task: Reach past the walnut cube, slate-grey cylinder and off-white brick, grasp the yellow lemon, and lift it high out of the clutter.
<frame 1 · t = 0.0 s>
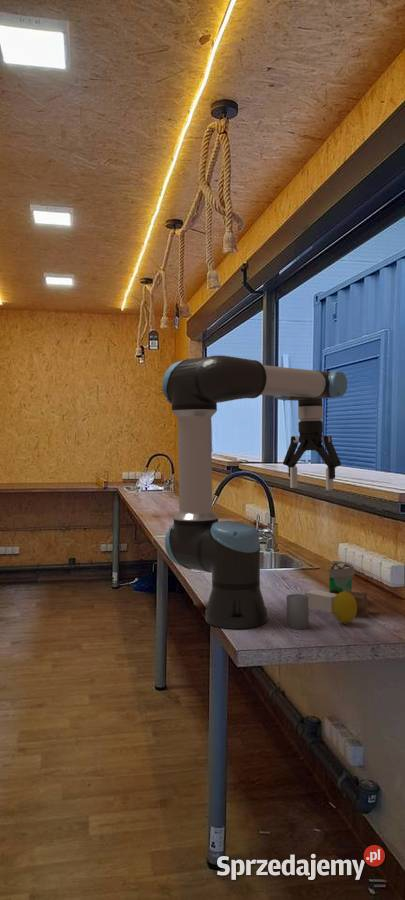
hand: (311, 488, 197), 28 cm above the worktop, fingers open, 13 cm apart
off-white brick: (322, 608, 164), on the worktop
walnut cube: (355, 614, 158), on the worktop
food container: (343, 603, 168), on the worktop
lemon: (345, 625, 149), on the worktop
slate cylinder: (297, 626, 148), on the worktop
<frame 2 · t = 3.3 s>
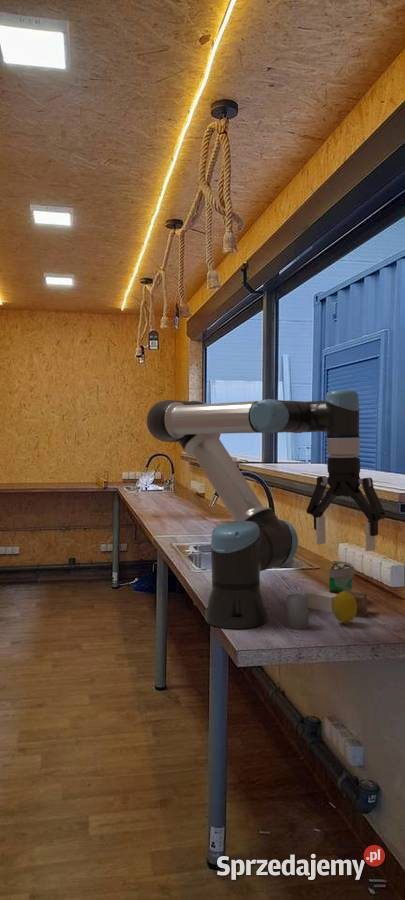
hand: (345, 546, 149), 18 cm above the worktop, fingers open, 13 cm apart
nothing on the worktop moved.
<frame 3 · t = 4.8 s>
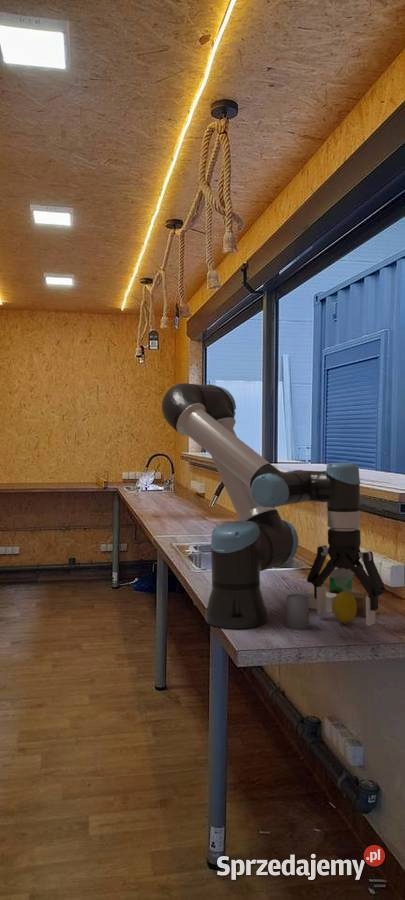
hand: (345, 618, 149), 1 cm above the worktop, fingers open, 13 cm apart
nothing on the worktop moved.
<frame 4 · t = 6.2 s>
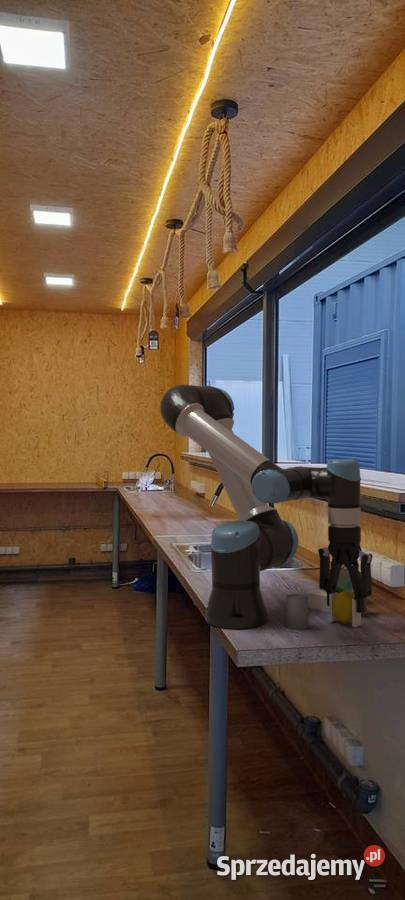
hand: (345, 622, 149), 0 cm above the worktop, fingers closed on lemon, 5 cm apart
lemon: (345, 625, 149), on the worktop, touching gripper
everything else where it was.
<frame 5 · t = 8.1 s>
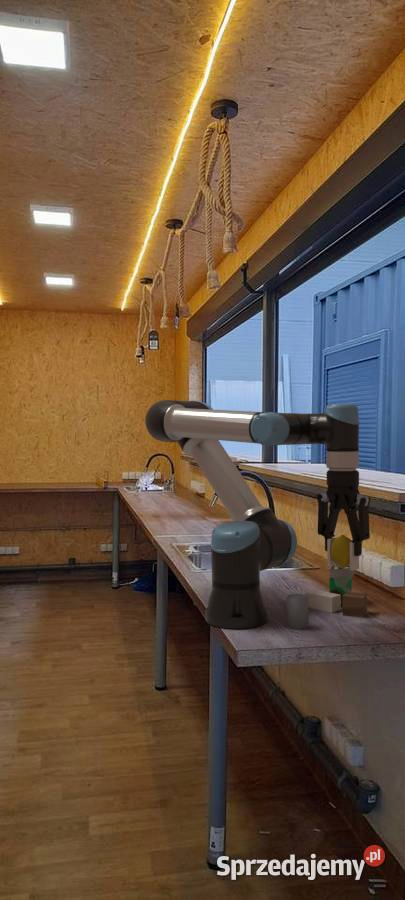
hand: (343, 567, 150), 13 cm above the worktop, fingers closed on lemon, 5 cm apart
lemon: (343, 569, 150), point 13 cm above the worktop, touching gripper
everything else where it was.
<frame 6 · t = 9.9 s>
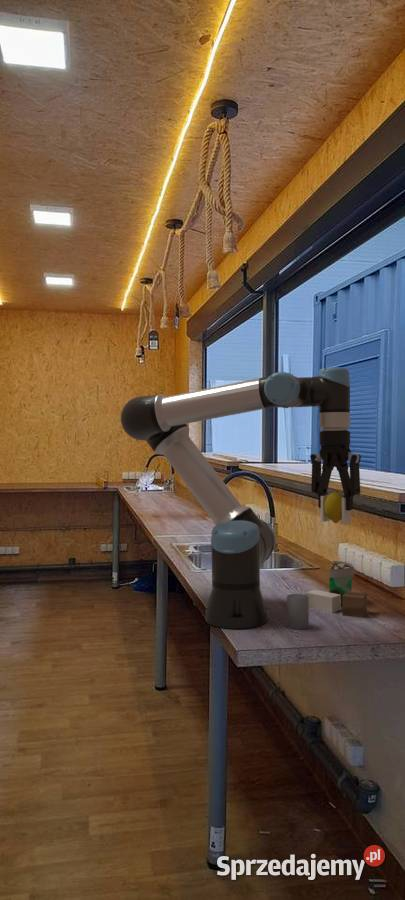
hand: (335, 522, 159), 23 cm above the worktop, fingers closed on lemon, 5 cm apart
lemon: (335, 524, 159), point 22 cm above the worktop, touching gripper
everything else where it was.
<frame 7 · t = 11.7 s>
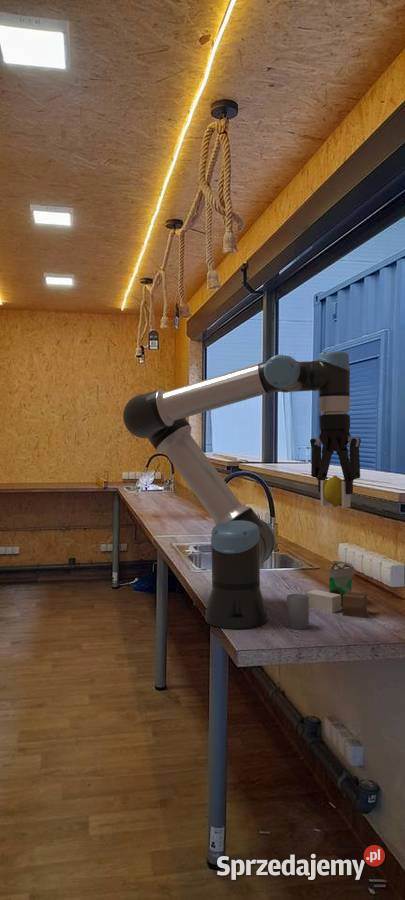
hand: (335, 506, 159), 27 cm above the worktop, fingers closed on lemon, 5 cm apart
lemon: (335, 508, 159), point 26 cm above the worktop, touching gripper
everything else where it was.
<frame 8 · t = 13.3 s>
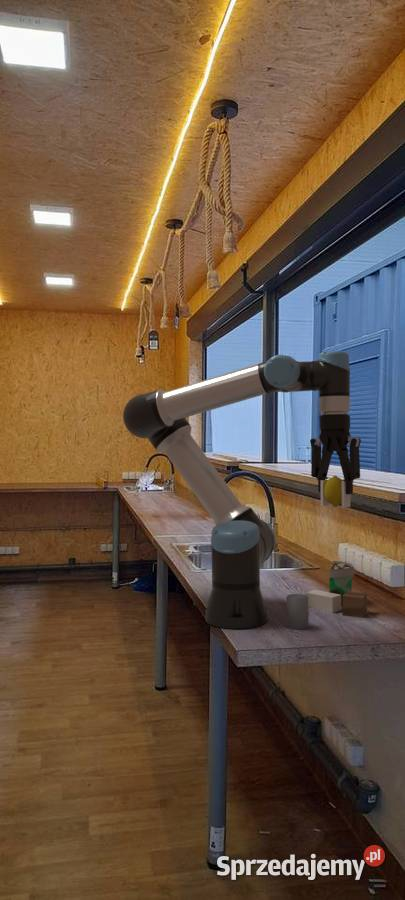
hand: (335, 506, 159), 27 cm above the worktop, fingers closed on lemon, 5 cm apart
lemon: (335, 508, 159), point 26 cm above the worktop, touching gripper
everything else where it was.
at the end: lemon point 26.3 cm above the worktop; the gripper is holding lemon; walnut cube moved 0.1 cm from its start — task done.
